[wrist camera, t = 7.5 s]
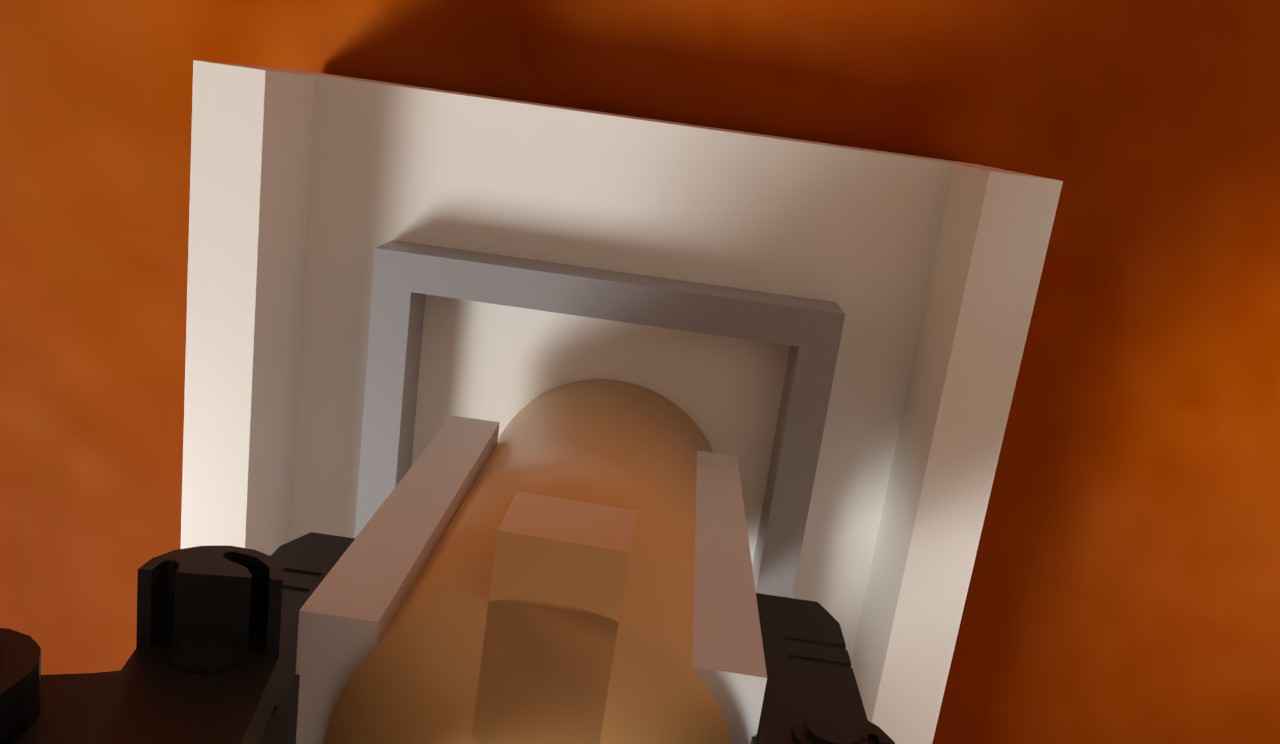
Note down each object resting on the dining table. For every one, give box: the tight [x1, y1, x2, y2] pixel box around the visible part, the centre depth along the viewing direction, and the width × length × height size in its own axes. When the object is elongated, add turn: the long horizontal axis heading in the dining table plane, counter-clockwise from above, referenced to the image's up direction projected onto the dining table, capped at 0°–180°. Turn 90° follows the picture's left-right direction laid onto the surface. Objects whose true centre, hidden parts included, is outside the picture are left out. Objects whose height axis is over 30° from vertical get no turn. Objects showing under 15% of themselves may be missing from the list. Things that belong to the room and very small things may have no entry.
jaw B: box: [324, 379, 733, 744], centre depth 14 cm, size 5×4×8 cm
